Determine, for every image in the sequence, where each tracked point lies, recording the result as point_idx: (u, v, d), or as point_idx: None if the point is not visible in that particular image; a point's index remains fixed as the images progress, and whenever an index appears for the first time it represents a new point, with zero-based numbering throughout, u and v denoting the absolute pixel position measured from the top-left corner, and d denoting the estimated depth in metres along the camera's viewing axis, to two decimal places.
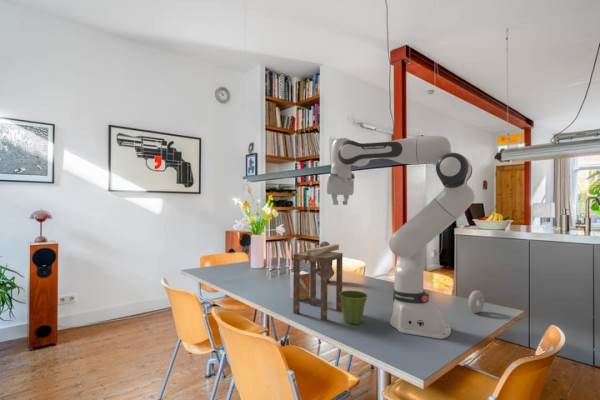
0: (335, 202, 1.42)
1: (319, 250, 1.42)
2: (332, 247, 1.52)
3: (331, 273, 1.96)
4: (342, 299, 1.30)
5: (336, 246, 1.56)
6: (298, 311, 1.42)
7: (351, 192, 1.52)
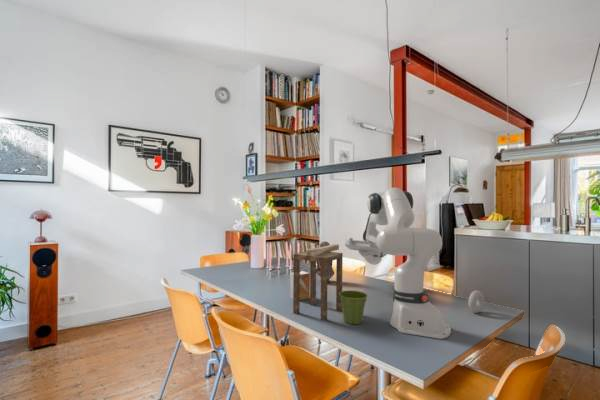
0: None
1: (319, 250, 1.42)
2: (332, 247, 1.52)
3: (331, 273, 1.96)
4: (342, 299, 1.30)
5: (336, 246, 1.56)
6: (298, 311, 1.42)
7: None
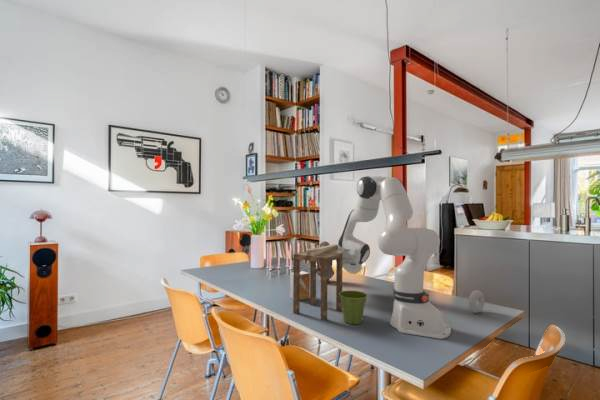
0: None
1: (319, 250, 1.42)
2: (332, 247, 1.52)
3: (331, 273, 1.96)
4: (342, 299, 1.30)
5: None
6: (298, 311, 1.42)
7: None
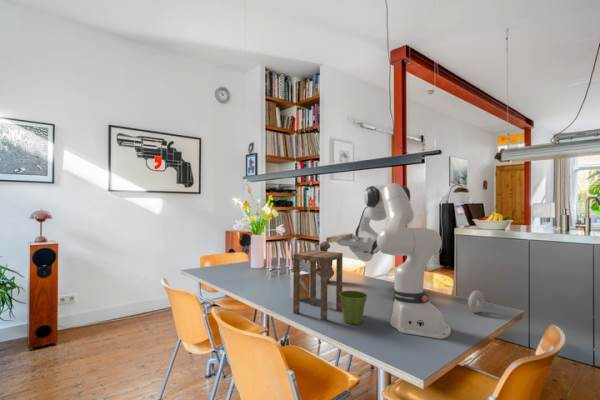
0: None
1: (336, 238, 1.56)
2: (347, 235, 1.66)
3: (331, 273, 1.96)
4: (342, 299, 1.30)
5: None
6: (298, 311, 1.42)
7: None
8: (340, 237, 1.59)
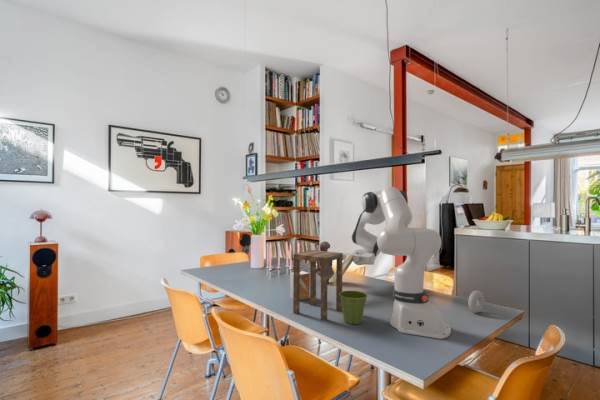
0: None
1: None
2: (348, 262, 1.68)
3: (331, 273, 1.96)
4: (342, 299, 1.30)
5: (351, 258, 1.71)
6: (298, 311, 1.42)
7: (367, 256, 1.72)
8: (342, 272, 1.62)
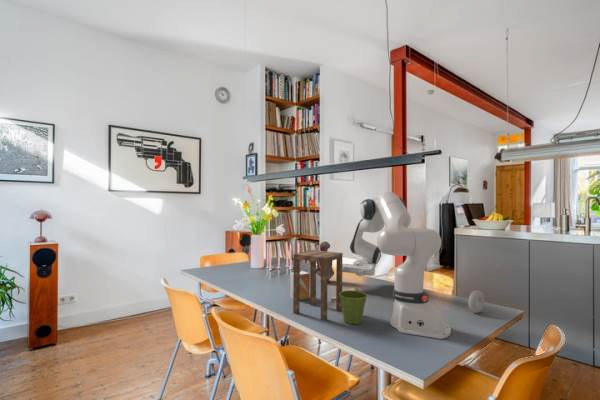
0: None
1: None
2: None
3: (331, 273, 1.96)
4: (342, 299, 1.30)
5: (356, 290, 1.74)
6: (298, 311, 1.42)
7: (367, 268, 1.72)
8: None
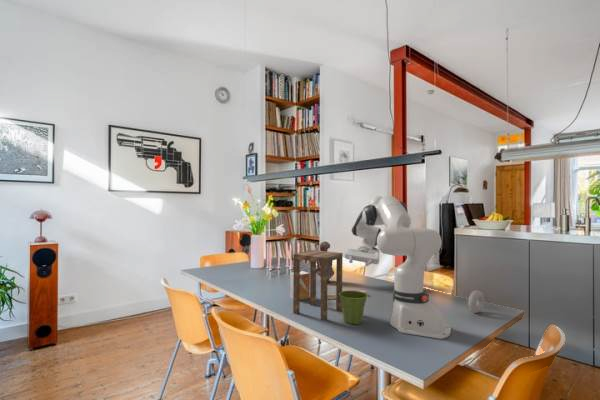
0: None
1: (334, 296, 1.64)
2: None
3: (331, 273, 1.96)
4: (342, 299, 1.30)
5: None
6: (298, 311, 1.42)
7: (374, 257, 1.84)
8: None
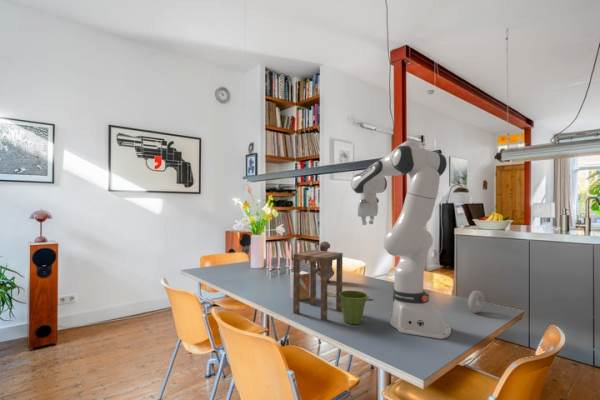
0: (364, 223, 1.72)
1: (332, 293, 1.68)
2: None
3: (331, 273, 1.96)
4: (342, 299, 1.30)
5: None
6: (298, 311, 1.42)
7: (376, 213, 1.82)
8: None
